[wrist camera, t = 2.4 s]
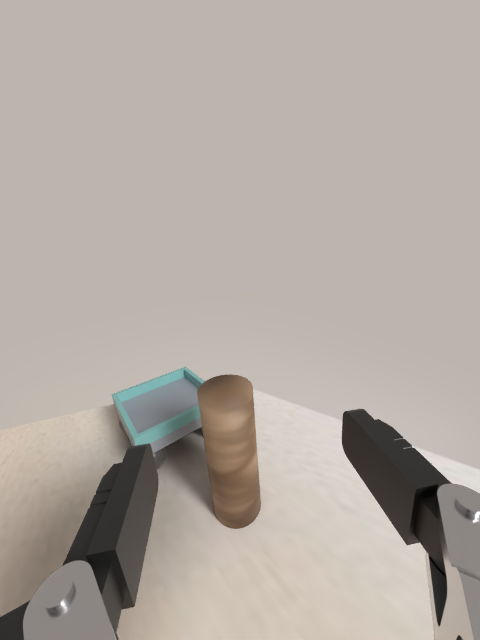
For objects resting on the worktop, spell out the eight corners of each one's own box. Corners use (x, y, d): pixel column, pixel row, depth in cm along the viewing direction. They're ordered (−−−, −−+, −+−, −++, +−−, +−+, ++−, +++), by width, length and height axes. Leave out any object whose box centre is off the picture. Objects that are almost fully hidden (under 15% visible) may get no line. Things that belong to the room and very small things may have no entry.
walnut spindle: (231, 540, 23) (216, 414, 19) (205, 500, 27) (187, 388, 23) (270, 505, 26) (264, 388, 22) (241, 473, 30) (231, 369, 26)
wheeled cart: (143, 484, 29) (133, 441, 27) (119, 429, 39) (110, 394, 37) (228, 433, 36) (224, 395, 34) (190, 397, 46) (185, 366, 44)
